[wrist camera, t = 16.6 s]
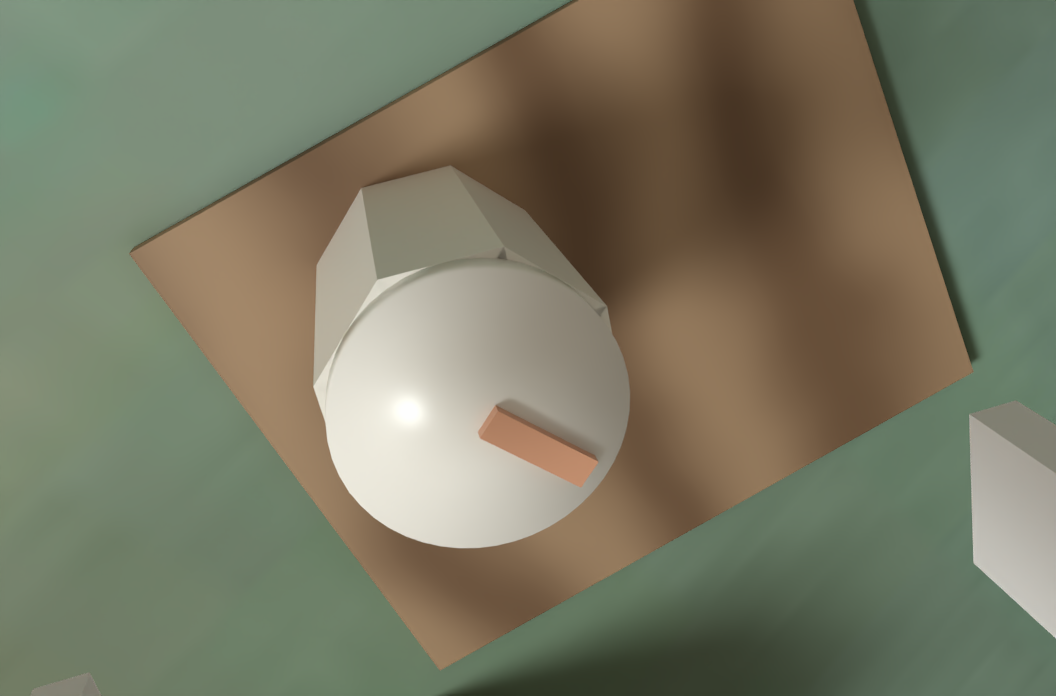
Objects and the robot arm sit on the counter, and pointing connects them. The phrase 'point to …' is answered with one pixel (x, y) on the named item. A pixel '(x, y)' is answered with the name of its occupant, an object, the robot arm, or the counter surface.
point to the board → (615, 273)
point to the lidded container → (462, 365)
